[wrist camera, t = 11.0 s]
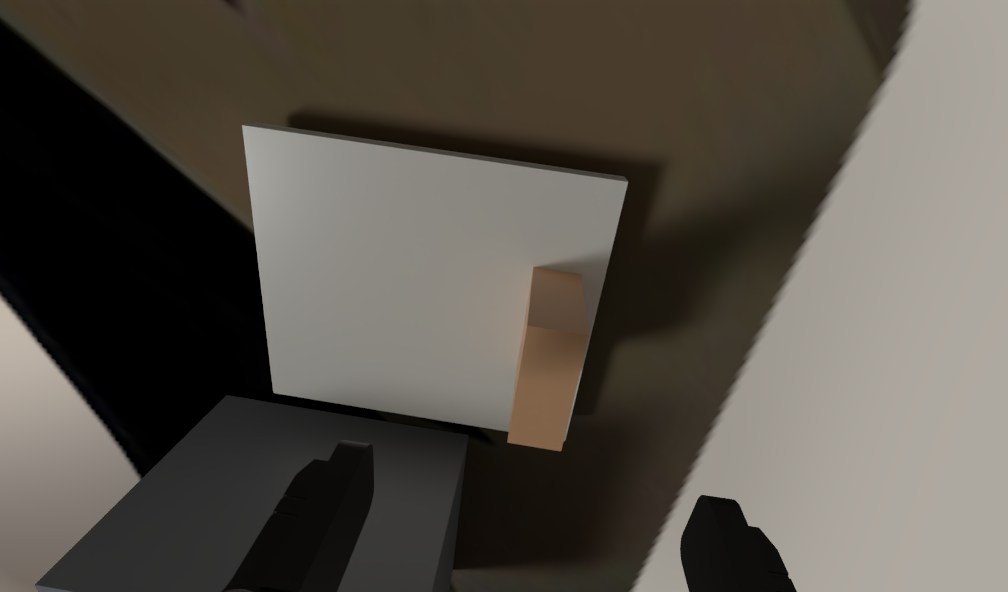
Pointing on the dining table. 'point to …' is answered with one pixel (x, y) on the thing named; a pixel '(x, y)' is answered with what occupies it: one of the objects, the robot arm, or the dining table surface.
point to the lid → (429, 277)
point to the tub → (272, 504)
